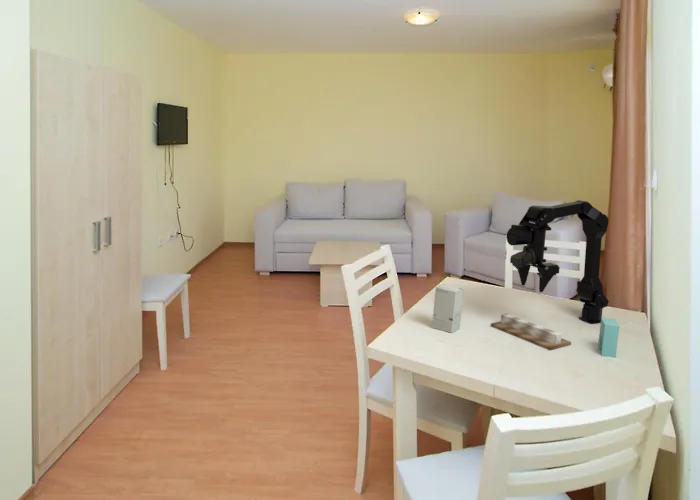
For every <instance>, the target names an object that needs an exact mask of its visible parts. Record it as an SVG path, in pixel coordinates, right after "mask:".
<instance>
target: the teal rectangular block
mask: <svg viewBox="0 0 700 500" xmlns="http://www.w3.org/2000/svg"><path fill="white" fill-rule="evenodd" d="M619 333H620V324H619V323H618V322H617V320H616V319H615V318H610V317H602V318H601V322H600V327H599V334H598V346H597V349H598V350H601V351H600V356H602V357H609V358H616V357H617V351H618V350H617V348H618V340H619Z"/></svg>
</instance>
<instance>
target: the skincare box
mask: <svg viewBox="0 0 700 500" xmlns="http://www.w3.org/2000/svg"><path fill="white" fill-rule="evenodd" d="M464 292H465V289H464V288H461V287H458V286H453V285H449V284H445V283H443V284H440V285H437V286H435V292H434V300H433V301H434V302H433V313H432V322H431V323H432V324H431V327H432V328H433V329H436V330H439V331H440V330H441V331H443V332H448V333H451V334H452V333H454V332H457V331H459V330H460V329H461V322H462V321H461V320H462V314H463V313H462V311H463V301H464Z"/></svg>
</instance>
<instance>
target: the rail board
mask: <svg viewBox="0 0 700 500" xmlns="http://www.w3.org/2000/svg"><path fill="white" fill-rule="evenodd" d="M490 327H492V328H494V329H497V330H499V331H502V332H504V333H506V334H509V335H511V336H514V337H516V338H518V339H521V340H524V341H526V342H528V343H531V344H534V345H536V346H539V347H540V348H542V349H543V348H544V349H546V350H548V351H552V350H553V351H554V350H557V349H561V348H564V347H569V346H572V341H570V340H567V339H564V338H562V335H563V334H562V333H560V332H557V331H554V330H551V329H549V328H546V327H544V326H541V325H538V324H536V323H533V322H530V321H527V320H525V319H522V318H520V317H517V316H514V315H512V314H509V313H502V314H501V315H500V321H496V322H491V323H490Z"/></svg>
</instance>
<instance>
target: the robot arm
mask: <svg viewBox="0 0 700 500" xmlns="http://www.w3.org/2000/svg"><path fill="white" fill-rule="evenodd" d="M574 215H577V218H578V219H579V220H580V221H581V224H582V230H583V234H584V235H585V238H586V239H585V240H586V241H585V255H584V270H583V276H582V278H581V280H577V281H576V284H577V285H576V293H577V296H578V299H579V302H581V303H583V304H582V305H583V306H582V308H581V316H579V317H578V319H579V320H581V321H584V322H586V323H589V324H599V323H600V324H601V318H603V309H605V308H608V305H609V303H610V301H609V299H608V298H607V297H606V295H604V288H603V286H604V285H603V284H602V282H601V278H600V268H601V267H600V265H601V252H602V251H601V250H602V238H603V237H604V235H605V234H606V233H607V231H608V227H609V221H610V220H609V217H608V216H607V215H606V214H604V213H602V212H601V211H600V210H598V209H597V208H595V207H594V206H593V205H592V204H591V203H590V202H588V201H586V200H585V201H584V200H578V199H577V200H575V201H571V202H566V203H561V204H556V205H551V206H547V205H531V206H529V207H528V209H527V211H526V213H525V214H524V216H523V217H522V218H521V220H520V222H519V223H518V224H511V225H510V226H511V227H510V228H509V229H508V230H507V233H505V234H506V241H507V243H508V245H510V246H522V245H523V248H522V251H518V252H516V253H514V254H512V255H511V256H510V259H509V263H510V264H511V265H512V267H514V268H515V269H516V270H517V272H518V276H519V280H520V283H521V286H525V285H526V283H527V280H528V277H529V273H530V269H531V267H532V268H535V269H536V268H537V271H538V272H536V274H537V276H538V278H539V281H538V285H539V286H538V290H539V293H543V292H544V291H545V289H546V287H547V285H548V284H549V282H550V281H551V280H552V279H553V277H554V276H557V274H559V273H560V265H558V264H556V263H552V262H547V258H544V256H545V255H544V254H545V251H548V247H547V246H545V244H546V233H547V231H552V228H551V226H549V224H550V223H552V222H554V220H556V219H559V218H566V217H569V216H574Z"/></svg>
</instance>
